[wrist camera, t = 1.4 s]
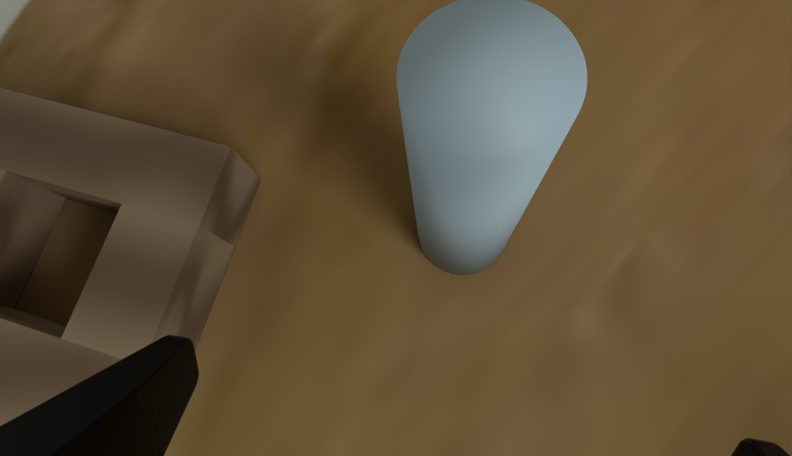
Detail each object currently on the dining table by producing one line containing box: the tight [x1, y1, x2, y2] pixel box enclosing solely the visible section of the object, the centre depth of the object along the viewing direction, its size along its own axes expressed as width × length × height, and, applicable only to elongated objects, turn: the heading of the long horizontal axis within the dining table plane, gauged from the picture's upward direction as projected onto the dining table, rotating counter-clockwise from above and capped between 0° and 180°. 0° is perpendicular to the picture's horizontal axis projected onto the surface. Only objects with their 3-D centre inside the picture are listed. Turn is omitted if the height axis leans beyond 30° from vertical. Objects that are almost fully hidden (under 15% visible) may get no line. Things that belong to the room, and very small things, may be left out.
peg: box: [396, 0, 587, 275], centre depth 18 cm, size 4×4×14 cm
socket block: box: [0, 88, 261, 426], centre depth 24 cm, size 14×14×4 cm
